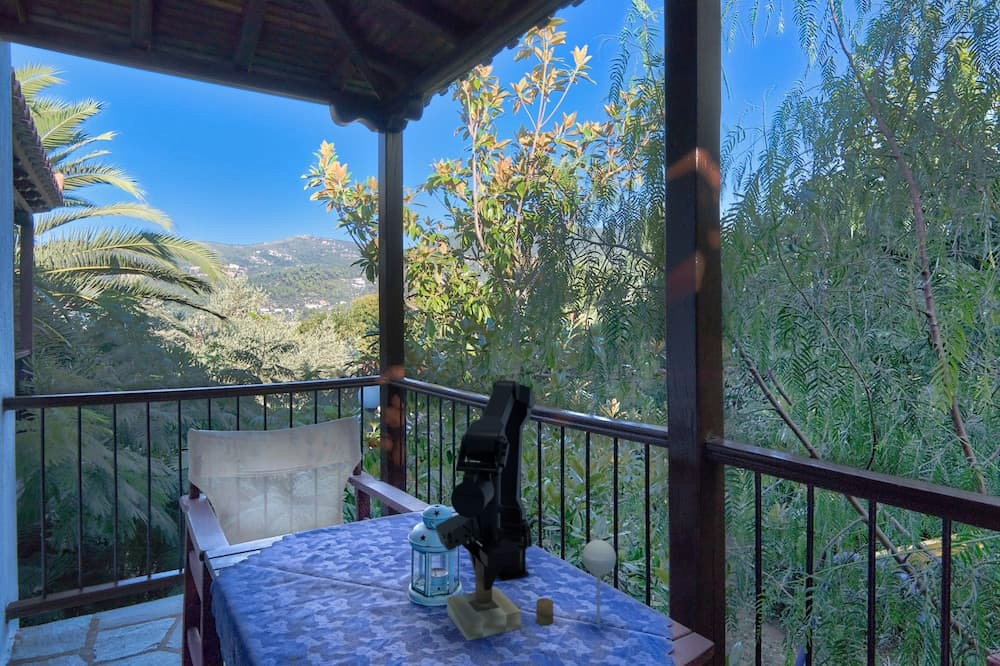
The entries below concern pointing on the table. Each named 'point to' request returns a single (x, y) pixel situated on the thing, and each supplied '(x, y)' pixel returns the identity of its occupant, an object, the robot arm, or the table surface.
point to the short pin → (544, 611)
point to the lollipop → (599, 563)
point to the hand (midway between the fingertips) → (483, 586)
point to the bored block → (483, 615)
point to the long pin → (481, 586)
